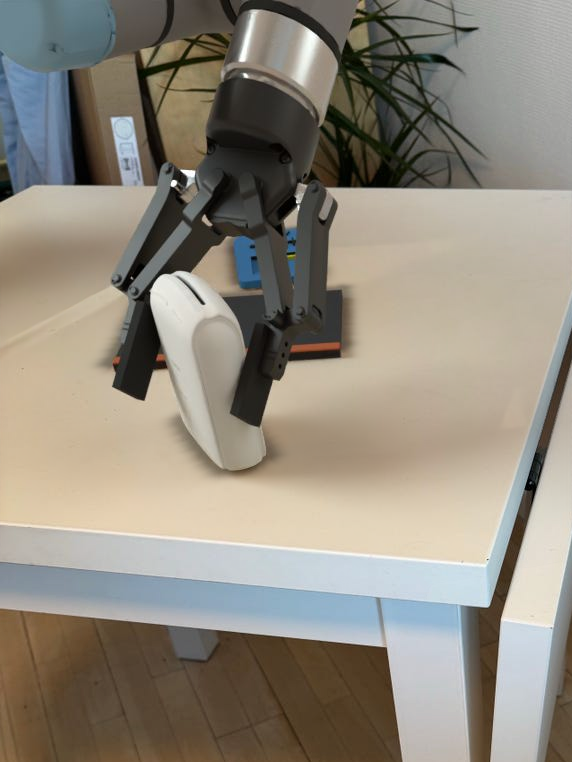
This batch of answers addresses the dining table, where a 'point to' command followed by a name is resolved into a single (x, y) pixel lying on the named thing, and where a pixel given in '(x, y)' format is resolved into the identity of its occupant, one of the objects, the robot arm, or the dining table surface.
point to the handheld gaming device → (249, 263)
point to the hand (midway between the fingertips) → (185, 407)
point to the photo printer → (205, 367)
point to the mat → (251, 312)
